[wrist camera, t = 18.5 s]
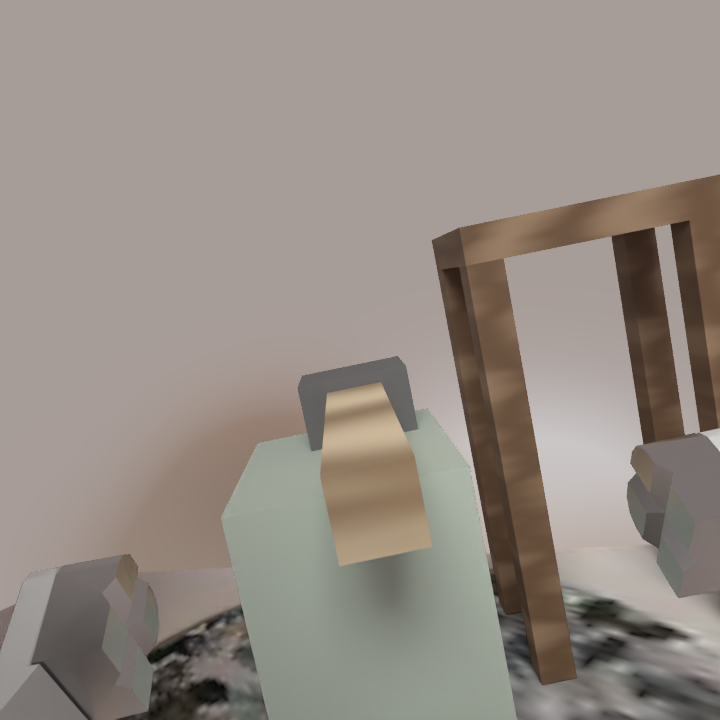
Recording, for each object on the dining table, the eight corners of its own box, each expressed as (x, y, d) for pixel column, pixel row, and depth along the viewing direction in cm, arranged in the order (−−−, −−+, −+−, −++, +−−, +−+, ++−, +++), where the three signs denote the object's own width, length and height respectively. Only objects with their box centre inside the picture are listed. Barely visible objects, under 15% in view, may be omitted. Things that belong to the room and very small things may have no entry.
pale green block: (320, 940, 25) (220, 517, 23) (325, 742, 36) (257, 443, 34) (549, 890, 26) (469, 466, 23) (485, 709, 36) (427, 408, 34)
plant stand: (542, 685, 37) (459, 227, 34) (499, 600, 47) (431, 240, 44) (782, 634, 38) (721, 174, 35) (689, 560, 48) (635, 198, 44)
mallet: (478, 536, 17) (458, 427, 17) (293, 575, 17) (268, 467, 17) (408, 412, 34) (397, 356, 34) (314, 432, 34) (302, 375, 34)
